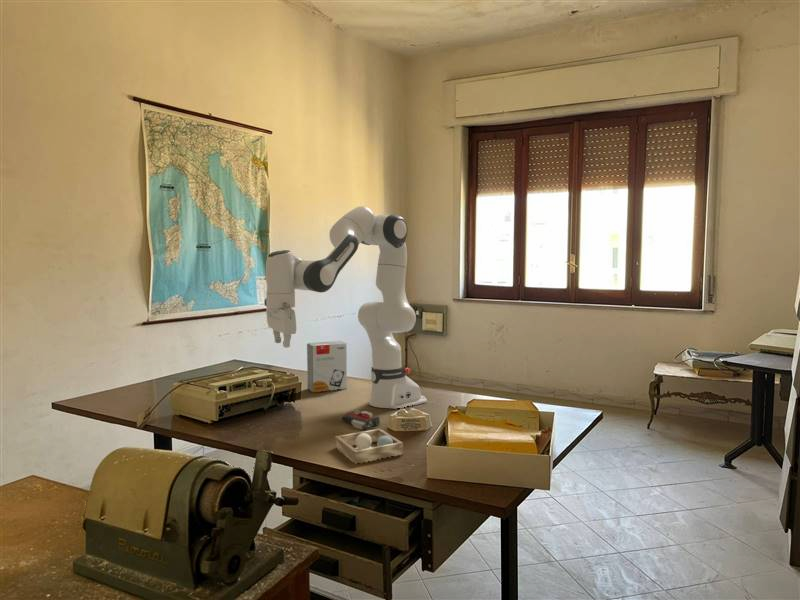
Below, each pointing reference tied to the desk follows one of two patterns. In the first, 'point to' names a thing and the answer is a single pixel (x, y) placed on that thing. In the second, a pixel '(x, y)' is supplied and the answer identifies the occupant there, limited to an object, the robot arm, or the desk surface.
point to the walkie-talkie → (361, 419)
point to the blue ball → (384, 440)
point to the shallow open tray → (369, 454)
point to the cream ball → (363, 441)
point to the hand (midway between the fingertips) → (282, 344)
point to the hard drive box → (327, 366)
